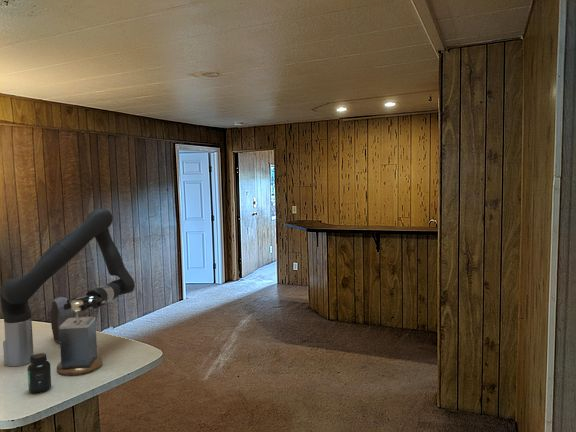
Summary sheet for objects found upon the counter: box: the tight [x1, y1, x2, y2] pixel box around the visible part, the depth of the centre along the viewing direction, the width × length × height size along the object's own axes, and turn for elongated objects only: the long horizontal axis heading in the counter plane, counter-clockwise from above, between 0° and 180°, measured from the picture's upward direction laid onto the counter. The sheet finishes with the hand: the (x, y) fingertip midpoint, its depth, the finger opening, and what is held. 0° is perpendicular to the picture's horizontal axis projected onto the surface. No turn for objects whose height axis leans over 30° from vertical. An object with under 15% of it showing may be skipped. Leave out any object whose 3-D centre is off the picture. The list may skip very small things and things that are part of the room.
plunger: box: [71, 301, 84, 322], centre depth 168 cm, size 7×7×22 cm
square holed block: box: [56, 316, 104, 377], centre depth 169 cm, size 16×16×18 cm
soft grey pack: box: [50, 296, 76, 343], centre depth 197 cm, size 15×8×20 cm, turn 42°
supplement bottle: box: [27, 352, 52, 395], centre depth 151 cm, size 7×7×12 cm
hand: (73, 307), depth 165 cm, fingers open, 6 cm apart
